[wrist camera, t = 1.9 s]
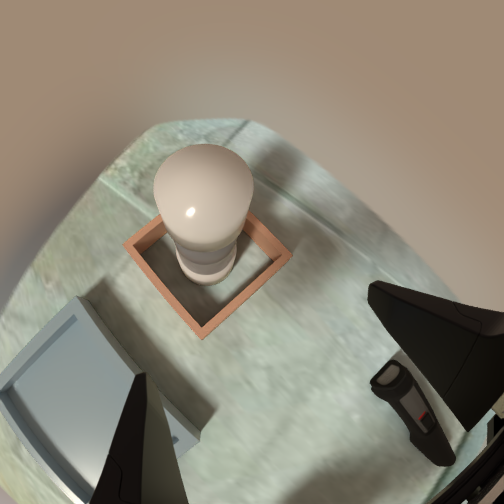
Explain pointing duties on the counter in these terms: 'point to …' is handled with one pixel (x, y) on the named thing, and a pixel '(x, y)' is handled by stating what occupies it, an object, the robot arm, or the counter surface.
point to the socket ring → (278, 256)
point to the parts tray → (75, 398)
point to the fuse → (204, 208)
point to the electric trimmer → (413, 411)
